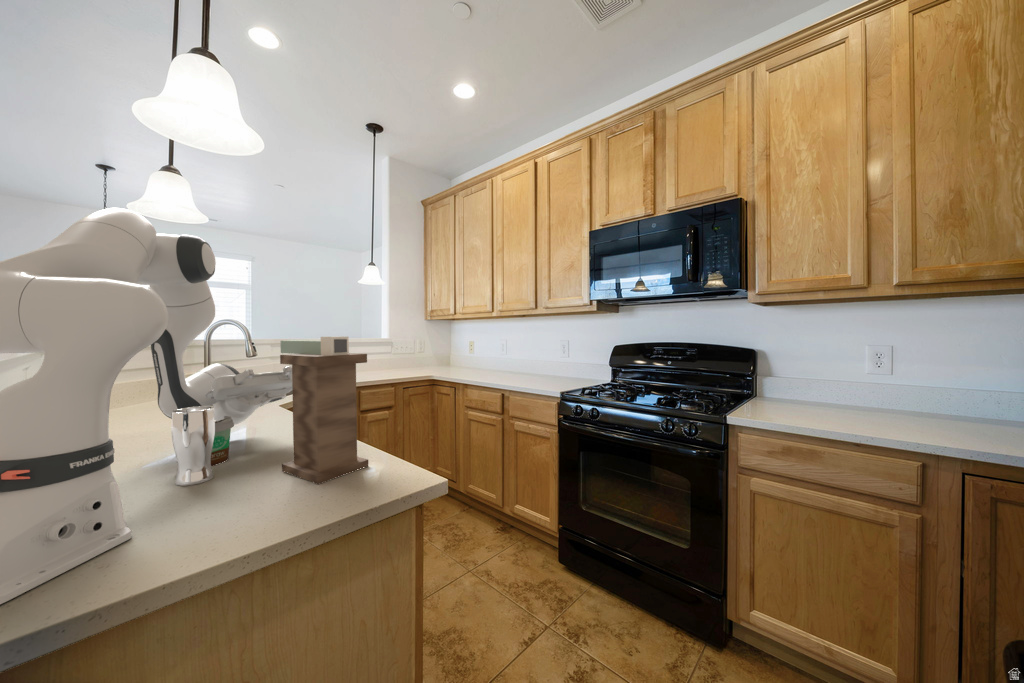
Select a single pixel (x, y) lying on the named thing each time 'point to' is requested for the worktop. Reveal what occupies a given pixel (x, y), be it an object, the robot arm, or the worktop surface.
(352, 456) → the wooden pedestal column
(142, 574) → the worktop surface
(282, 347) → the sage bar
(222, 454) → the food container
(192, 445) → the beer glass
